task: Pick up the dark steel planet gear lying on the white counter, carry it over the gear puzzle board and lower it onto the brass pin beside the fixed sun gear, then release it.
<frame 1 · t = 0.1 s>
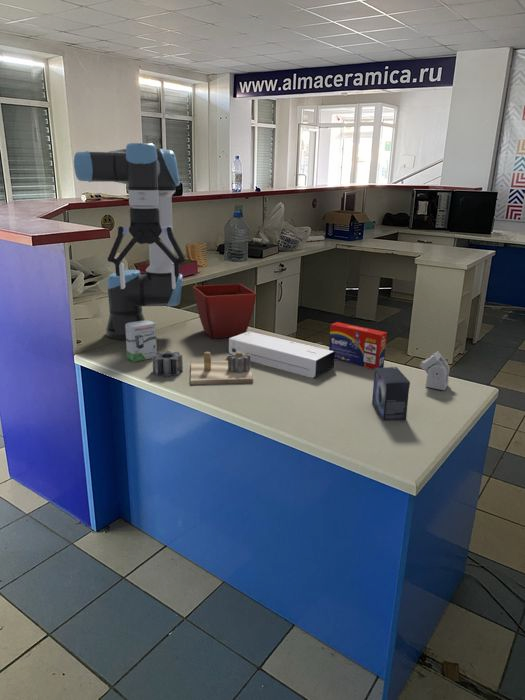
hand: (148, 288, 144), 28 cm above the countertop, fingers open, 13 cm apart
small box: (387, 412, 137), on the countertop
ink box: (142, 358, 173), on the countertop
toy box: (355, 363, 172), on the countertop
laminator: (278, 363, 171), on the countertop
mechanical component: (432, 386, 154), on the countertop
gear puzzle board: (220, 373, 160), on the countertop
plant pot: (224, 333, 200), on the countertop
planet gear: (168, 371, 161), on the countertop
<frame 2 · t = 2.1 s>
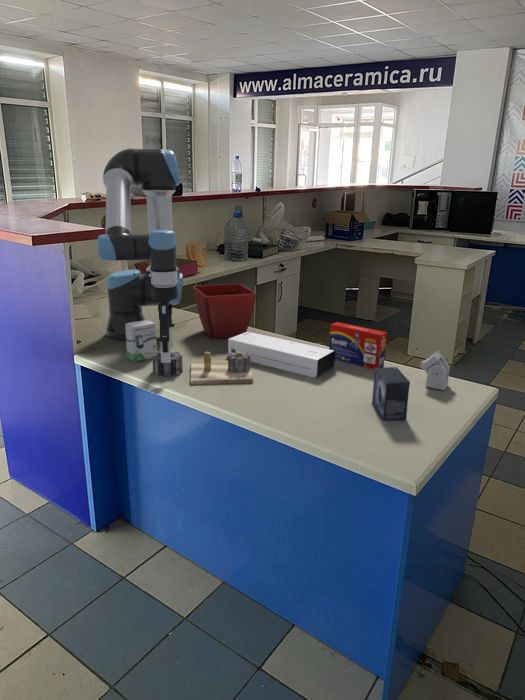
hand: (167, 355, 159), 5 cm above the countertop, fingers open, 13 cm apart
nothing on the countertop moved.
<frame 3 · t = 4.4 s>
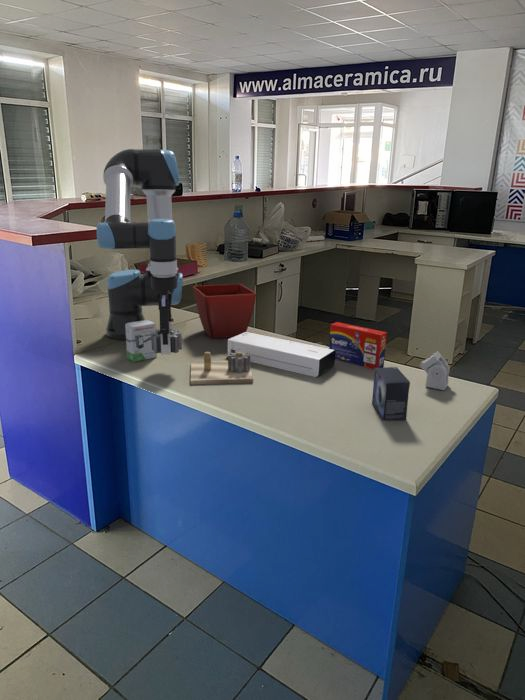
hand: (166, 348, 160), 7 cm above the countertop, fingers closed on planet gear, 9 cm apart
planet gear: (166, 349, 160), point 7 cm above the countertop, touching gripper
everything else where it was.
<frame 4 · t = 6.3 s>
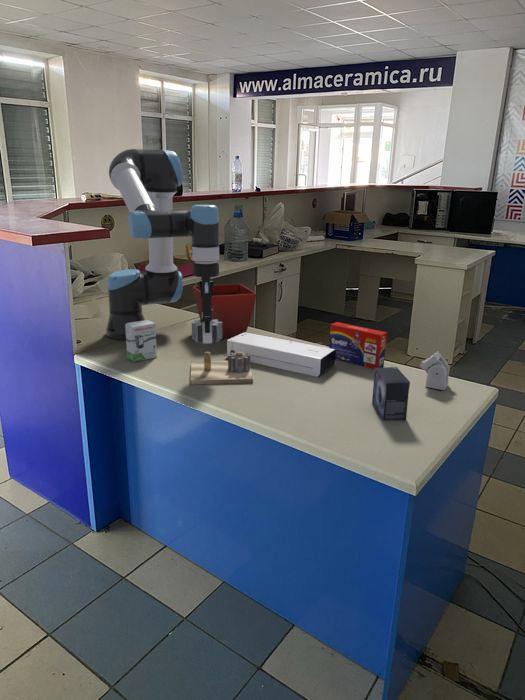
hand: (207, 338, 156), 11 cm above the countertop, fingers closed on planet gear, 9 cm apart
planet gear: (207, 338, 156), point 11 cm above the countertop, touching gripper
everything else where it was.
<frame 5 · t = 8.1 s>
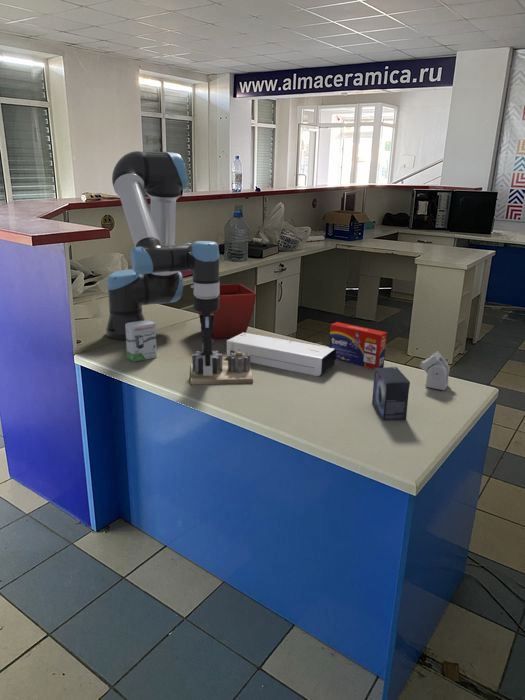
hand: (207, 369, 159), 1 cm above the countertop, fingers closed on planet gear, 9 cm apart
planet gear: (207, 370, 160), point 1 cm above the countertop, touching gear puzzle board, gripper
when the fingers open (1 cm above the countertop, at t = 8.4 s): planet gear stays where it is, resting on gear puzzle board.
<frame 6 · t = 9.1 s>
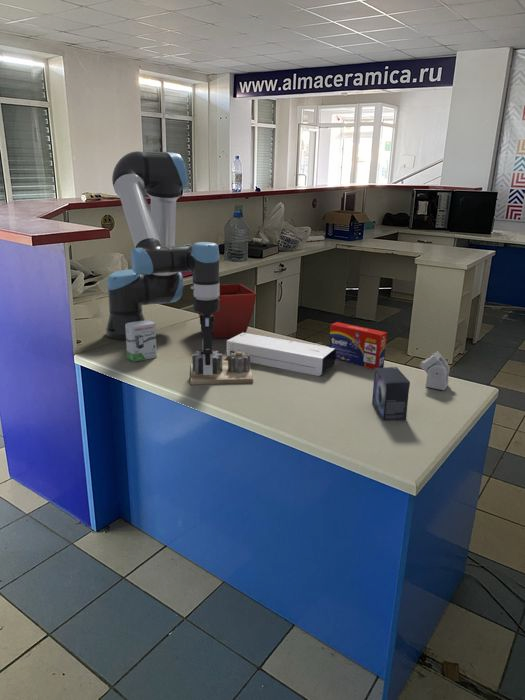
hand: (207, 366, 159), 2 cm above the countertop, fingers open, 13 cm apart
planet gear: (207, 370, 160), point 1 cm above the countertop, touching gear puzzle board
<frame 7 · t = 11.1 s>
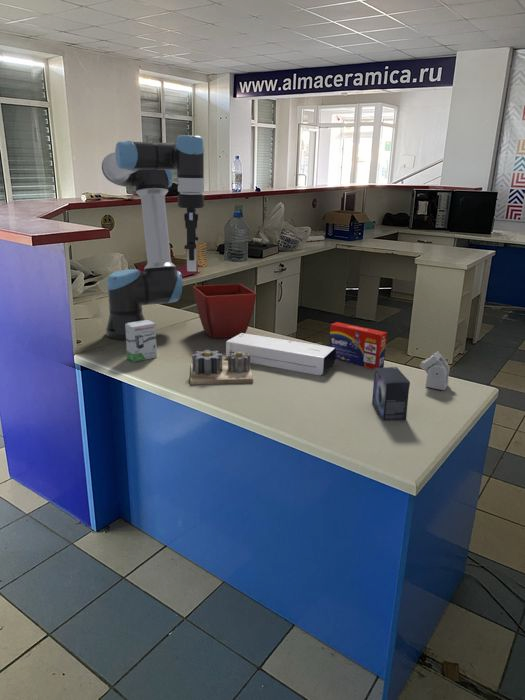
hand: (192, 266, 160), 31 cm above the countertop, fingers open, 13 cm apart
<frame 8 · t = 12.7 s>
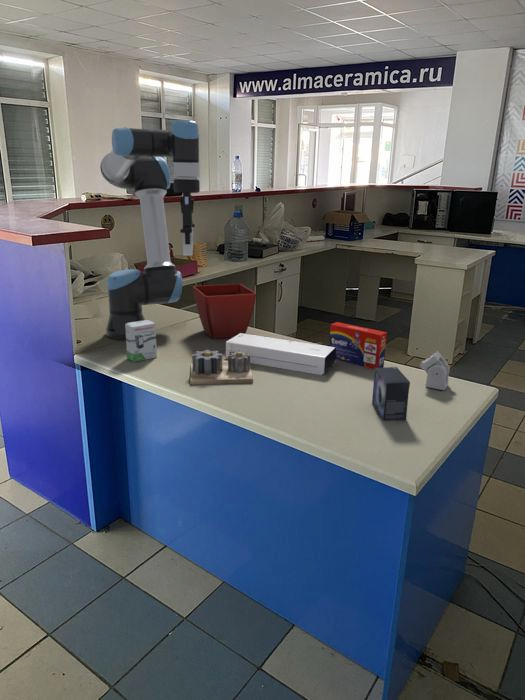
hand: (188, 252, 160), 35 cm above the countertop, fingers open, 13 cm apart
at the end: planet gear 0.0 cm from the target spot on the gear puzzle board, point 1.2 cm above the gear puzzle board's base; planet gear tilted 0°; the gripper is holding nothing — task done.
